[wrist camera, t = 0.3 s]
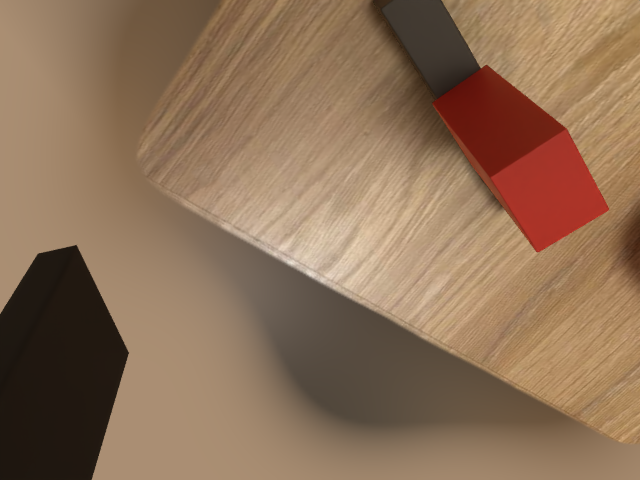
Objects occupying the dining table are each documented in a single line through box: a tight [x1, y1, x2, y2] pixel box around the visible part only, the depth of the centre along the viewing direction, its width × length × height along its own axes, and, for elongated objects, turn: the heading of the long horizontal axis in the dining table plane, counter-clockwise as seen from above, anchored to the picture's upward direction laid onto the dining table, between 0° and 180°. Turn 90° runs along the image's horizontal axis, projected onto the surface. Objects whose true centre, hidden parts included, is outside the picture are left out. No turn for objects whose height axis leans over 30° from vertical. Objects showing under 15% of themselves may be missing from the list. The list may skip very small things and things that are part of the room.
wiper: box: [373, 0, 609, 252], centre depth 26 cm, size 3×14×11 cm, turn 36°
